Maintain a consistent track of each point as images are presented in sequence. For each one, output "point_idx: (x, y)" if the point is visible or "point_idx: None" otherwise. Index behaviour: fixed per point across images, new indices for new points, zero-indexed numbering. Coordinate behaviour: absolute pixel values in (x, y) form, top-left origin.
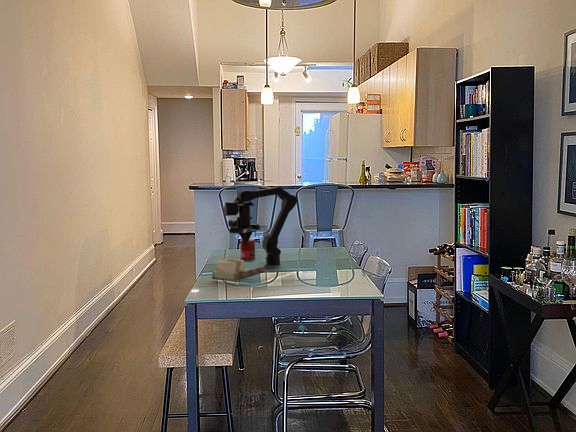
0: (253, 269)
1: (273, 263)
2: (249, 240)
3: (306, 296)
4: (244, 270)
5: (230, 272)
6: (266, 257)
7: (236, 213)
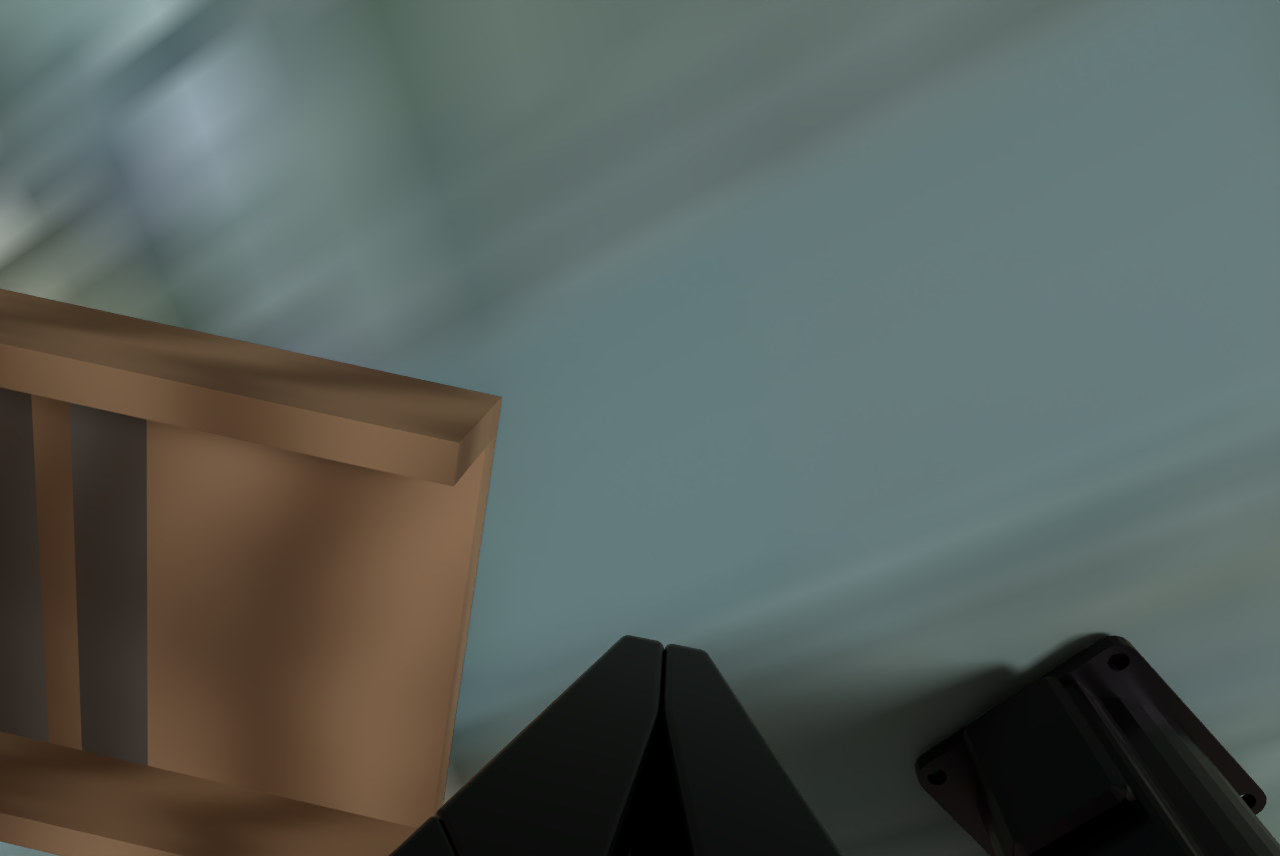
0: (55, 848)
1: (995, 851)
2: None
3: None
4: (318, 528)
5: None
6: (1075, 813)
7: None
